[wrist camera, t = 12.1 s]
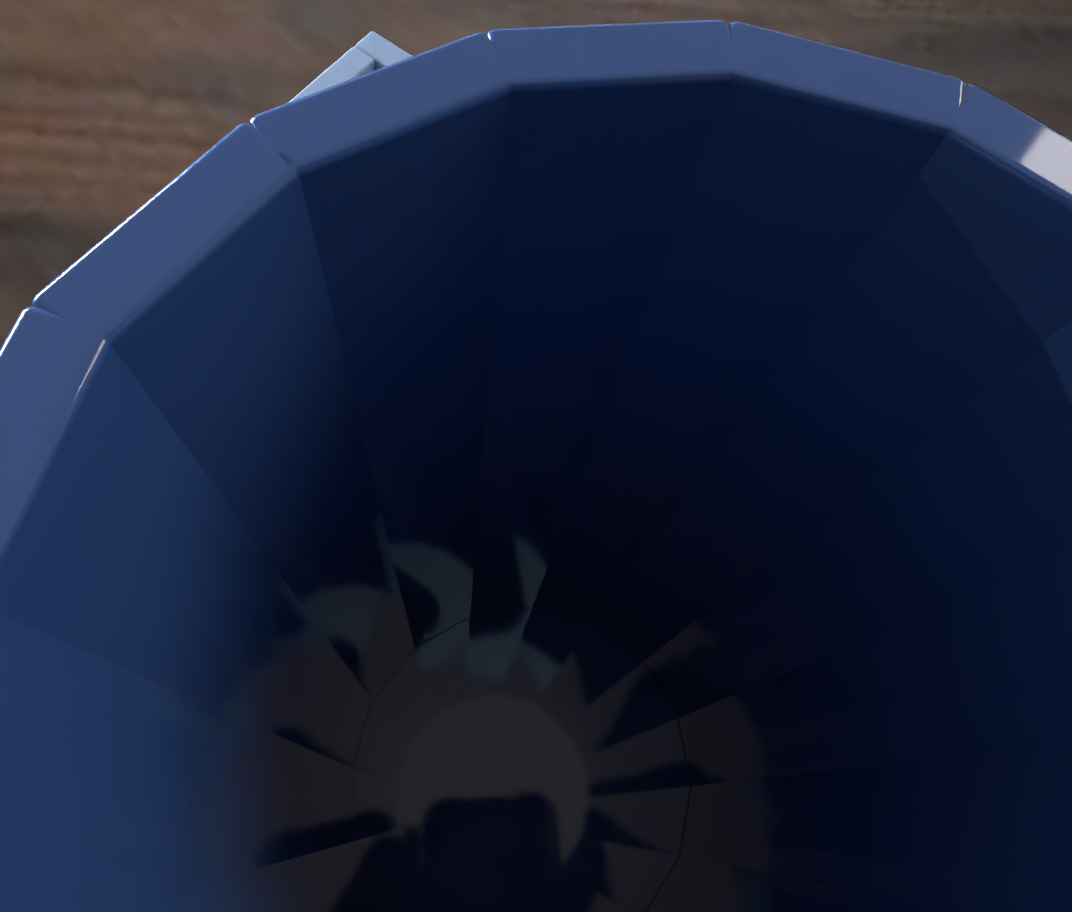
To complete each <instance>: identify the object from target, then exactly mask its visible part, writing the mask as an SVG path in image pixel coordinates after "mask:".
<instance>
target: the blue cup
mask: <svg viewBox="0 0 1072 912" xmlns="http://www.w3.org/2000/svg"><path fill="white" fill-rule="evenodd" d="M32 302H33V306H34V307H26V308H25V309H24V310H23V311H22V312H21V313H20V315H19V317H18V319H17V320H16V322H15V324H14V326H13V328H12V329H11V331H10V333H9V335H8V337H7V338H6V340H5V342H4V344H3V345H2V347H1V349H0V912H1072V140H1071V139H1069V138H1067V137H1065V136H1064V135H1062V134H1060V133H1058V132H1057V131H1055V130H1053V129H1052V128H1050V127H1048V126H1046V125H1045V124H1043V123H1041V122H1039V121H1038V120H1036V119H1034V118H1033V117H1031V116H1029V115H1027V114H1026V113H1024V112H1022V111H1020V110H1019V109H1017V108H1015V107H1013V106H1012V105H1010V104H1008V103H1007V102H1005V101H1003V100H1001V99H1000V98H998V97H996V96H994V95H993V94H991V93H989V92H988V91H986V90H984V89H982V88H981V87H979V86H977V85H974V84H969V85H967V86H966V84H965V82H964V81H963V80H962V79H960V78H958V77H954V76H950V75H946V74H942V73H938V72H934V71H930V70H926V69H922V68H918V67H915V66H911V65H907V64H903V63H899V62H895V61H891V60H887V59H883V58H879V57H875V56H871V55H868V54H864V53H860V52H856V51H852V50H848V49H844V48H840V47H836V46H832V45H828V44H824V43H821V42H817V41H813V40H809V39H805V38H801V37H797V36H793V35H789V34H785V33H781V32H777V31H774V30H770V29H766V28H762V27H758V26H754V25H750V24H746V23H742V22H738V21H737V22H731V24H730V25H729V24H728V23H727V22H726V21H723V20H698V21H673V22H649V23H625V24H601V25H577V26H553V27H528V28H504V29H493V30H491V31H489V33H488V35H487V34H485V33H483V32H477V33H474V34H471V35H469V36H466V37H463V38H461V39H458V40H455V41H453V42H450V43H447V44H444V45H442V46H439V47H436V48H434V49H431V50H428V51H426V52H423V53H420V54H418V55H415V56H412V57H410V58H407V59H404V60H402V61H399V62H396V63H393V64H391V65H388V66H385V67H383V68H380V69H377V70H375V71H372V72H369V73H367V74H364V75H361V76H359V77H356V78H353V79H351V80H348V81H345V82H342V83H340V84H337V85H334V86H332V87H329V88H326V89H324V90H321V91H318V92H316V93H313V94H310V95H308V96H305V97H302V98H300V99H297V100H294V101H292V102H289V103H286V104H283V105H281V106H278V107H275V108H273V109H270V110H267V111H265V112H262V113H259V114H257V115H255V116H254V117H252V118H251V119H250V124H248V123H242V124H239V125H238V126H237V127H235V128H234V129H233V130H232V131H231V132H229V133H228V134H227V135H226V136H225V137H223V138H222V139H221V140H220V141H219V142H217V143H216V144H215V145H214V146H213V147H211V148H210V149H209V150H208V151H207V152H206V153H204V154H203V155H202V156H201V157H200V158H198V159H197V160H196V161H195V162H194V163H192V164H191V165H190V166H189V167H188V168H186V169H185V170H184V171H183V172H182V173H180V174H179V175H178V176H177V177H176V178H174V179H173V180H172V181H171V182H170V183H169V184H167V185H166V186H165V187H164V188H163V189H161V190H160V191H159V192H158V193H157V194H155V195H154V196H153V197H152V198H151V199H149V200H148V201H147V202H146V203H145V204H143V205H142V206H141V207H140V208H139V209H138V210H136V211H135V212H134V213H133V214H132V215H130V216H129V217H128V218H127V219H126V220H124V221H123V222H122V223H121V224H120V225H118V226H117V227H116V228H115V229H114V230H112V231H111V232H110V233H109V234H108V235H106V236H105V237H104V238H103V239H102V240H101V241H99V242H98V243H97V244H96V245H95V246H93V247H92V248H91V249H90V250H89V251H87V252H86V253H85V254H84V255H83V256H81V257H80V258H79V259H78V260H77V261H75V262H74V263H73V264H72V265H71V266H69V267H68V268H67V269H66V270H65V271H64V272H62V273H61V274H60V275H59V276H58V277H56V278H55V279H54V280H53V281H52V282H50V283H49V284H48V285H47V286H46V287H44V288H43V289H42V290H41V291H40V292H38V293H37V294H36V295H35V297H34V299H33V301H32Z"/></svg>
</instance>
